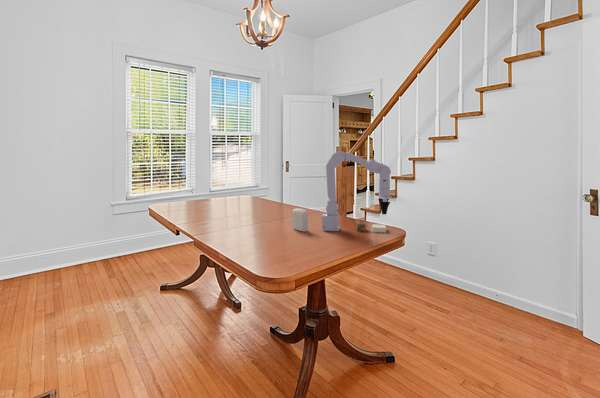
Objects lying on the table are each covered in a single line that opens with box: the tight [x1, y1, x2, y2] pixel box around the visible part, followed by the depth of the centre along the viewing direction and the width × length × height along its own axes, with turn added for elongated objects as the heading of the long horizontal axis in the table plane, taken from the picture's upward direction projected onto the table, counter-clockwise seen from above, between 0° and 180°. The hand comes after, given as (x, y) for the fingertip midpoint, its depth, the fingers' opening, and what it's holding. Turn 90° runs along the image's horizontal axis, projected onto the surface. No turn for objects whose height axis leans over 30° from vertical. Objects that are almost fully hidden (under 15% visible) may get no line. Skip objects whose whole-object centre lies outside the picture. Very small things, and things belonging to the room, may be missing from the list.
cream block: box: [371, 224, 387, 233], centre depth 179 cm, size 7×7×3 cm
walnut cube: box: [356, 222, 366, 232], centre depth 181 cm, size 4×4×4 cm
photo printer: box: [291, 207, 309, 233], centre depth 183 cm, size 10×4×12 cm, turn 40°
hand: (383, 212), depth 177 cm, fingers open, 7 cm apart
